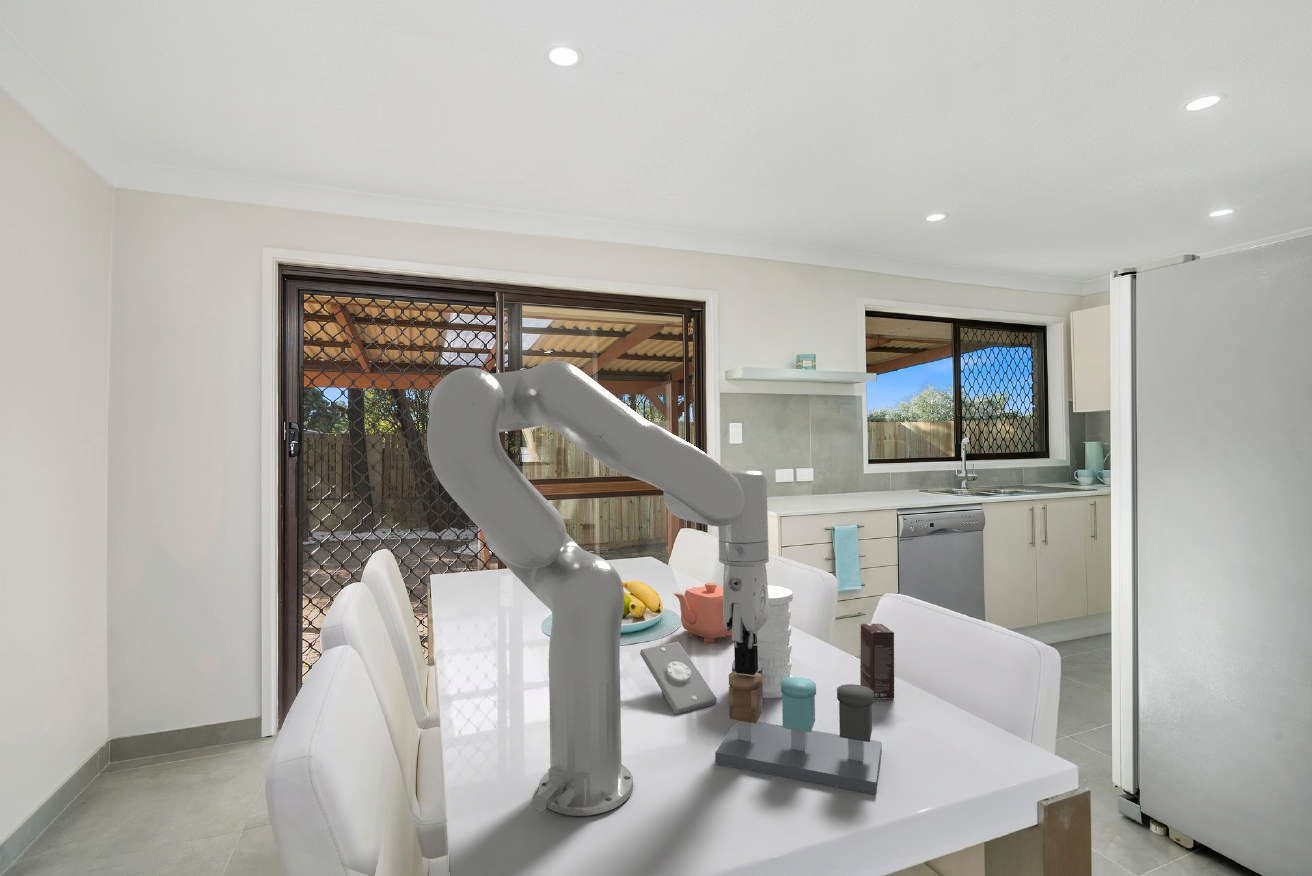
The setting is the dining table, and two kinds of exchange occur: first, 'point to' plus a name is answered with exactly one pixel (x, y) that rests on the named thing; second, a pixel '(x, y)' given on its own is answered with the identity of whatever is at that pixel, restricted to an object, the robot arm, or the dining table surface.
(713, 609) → the teapot
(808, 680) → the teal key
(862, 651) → the box
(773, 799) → the dining table surface
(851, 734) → the dark grey round-topped block
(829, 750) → the panel
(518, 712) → the dining table surface
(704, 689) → the light switch
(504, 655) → the dining table surface
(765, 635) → the decorative container
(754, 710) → the walnut key
